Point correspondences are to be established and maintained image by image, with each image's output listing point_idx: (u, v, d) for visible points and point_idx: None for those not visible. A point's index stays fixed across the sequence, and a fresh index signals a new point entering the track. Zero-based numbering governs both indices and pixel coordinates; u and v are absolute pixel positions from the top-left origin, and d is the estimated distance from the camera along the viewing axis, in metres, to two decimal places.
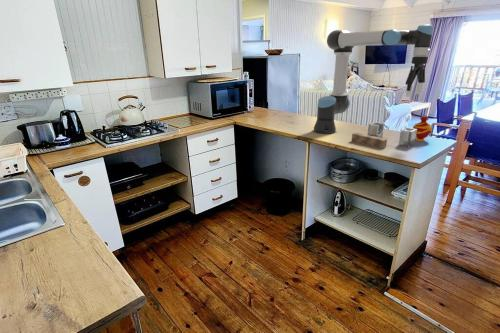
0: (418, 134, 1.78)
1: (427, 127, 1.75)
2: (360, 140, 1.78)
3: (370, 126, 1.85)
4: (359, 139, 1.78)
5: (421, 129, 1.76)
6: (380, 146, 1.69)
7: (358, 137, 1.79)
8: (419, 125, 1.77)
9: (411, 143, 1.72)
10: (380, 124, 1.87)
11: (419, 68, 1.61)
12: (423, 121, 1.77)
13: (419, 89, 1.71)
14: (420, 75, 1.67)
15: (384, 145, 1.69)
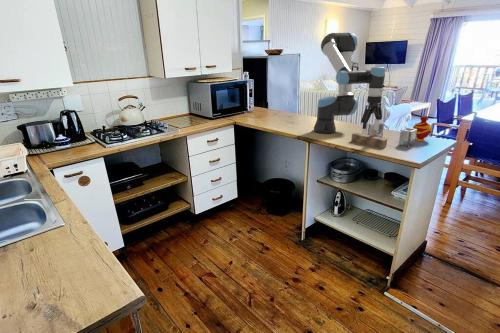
0: (418, 134, 1.78)
1: (427, 127, 1.75)
2: (360, 140, 1.78)
3: (370, 126, 1.85)
4: (359, 139, 1.78)
5: (421, 129, 1.76)
6: (380, 146, 1.69)
7: (358, 137, 1.78)
8: (419, 125, 1.77)
9: (411, 143, 1.72)
10: (380, 124, 1.87)
11: (374, 107, 1.66)
12: (423, 121, 1.77)
13: (377, 125, 1.76)
14: (376, 113, 1.72)
15: (384, 145, 1.69)
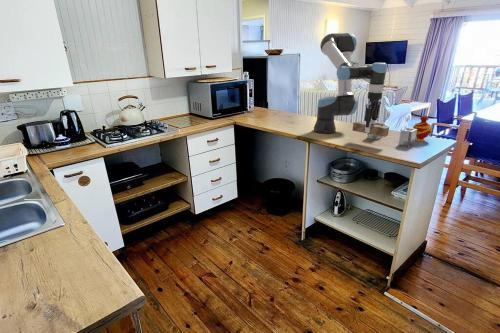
0: (418, 134, 1.78)
1: (427, 127, 1.75)
2: (362, 129, 1.76)
3: None
4: (360, 127, 1.76)
5: (421, 129, 1.76)
6: (382, 134, 1.67)
7: (359, 126, 1.76)
8: (419, 125, 1.77)
9: (411, 143, 1.72)
10: (380, 124, 1.87)
11: (374, 104, 1.66)
12: (423, 121, 1.77)
13: None
14: (374, 111, 1.71)
15: (386, 133, 1.67)
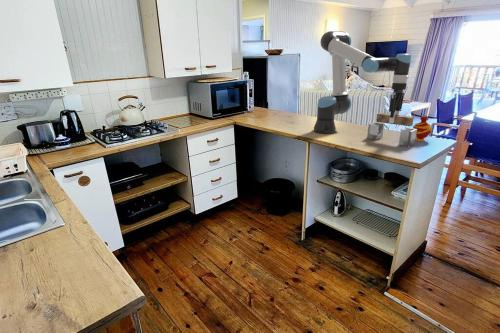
0: (418, 134, 1.78)
1: (427, 127, 1.75)
2: (386, 120, 1.78)
3: (370, 126, 1.85)
4: (384, 118, 1.79)
5: (421, 129, 1.76)
6: (407, 124, 1.70)
7: (383, 117, 1.79)
8: (419, 125, 1.77)
9: (411, 143, 1.72)
10: (380, 124, 1.87)
11: (398, 94, 1.69)
12: (423, 121, 1.77)
13: None
14: (398, 101, 1.74)
15: (411, 123, 1.70)
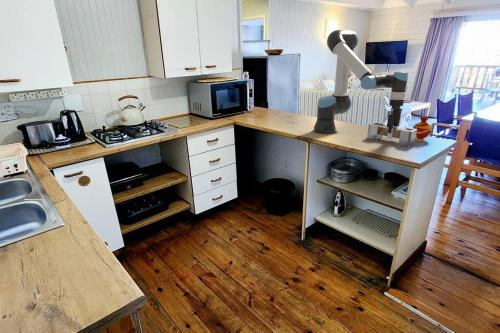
0: (418, 134, 1.78)
1: (427, 127, 1.75)
2: (384, 132, 1.81)
3: (370, 126, 1.85)
4: (382, 131, 1.82)
5: (421, 129, 1.76)
6: None
7: (381, 130, 1.82)
8: (419, 125, 1.77)
9: (411, 143, 1.72)
10: (380, 124, 1.87)
11: (396, 111, 1.73)
12: (423, 121, 1.77)
13: None
14: (396, 117, 1.77)
15: None
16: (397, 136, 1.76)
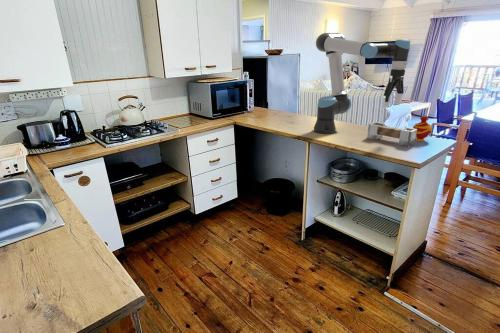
0: (418, 134, 1.78)
1: (427, 127, 1.75)
2: (384, 132, 1.81)
3: (370, 126, 1.85)
4: (382, 131, 1.82)
5: (421, 129, 1.76)
6: None
7: (381, 130, 1.82)
8: (419, 125, 1.77)
9: (411, 143, 1.72)
10: (380, 124, 1.87)
11: (397, 80, 1.68)
12: (423, 121, 1.77)
13: (398, 100, 1.78)
14: (398, 86, 1.74)
15: None
16: (397, 136, 1.76)
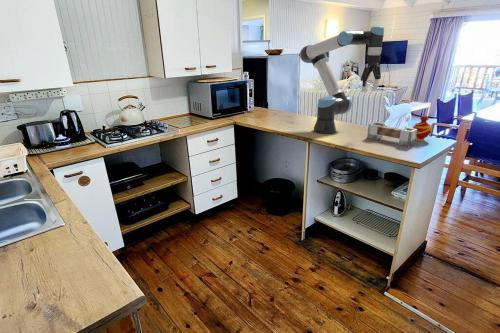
0: (418, 134, 1.78)
1: (427, 127, 1.75)
2: (384, 132, 1.81)
3: (370, 126, 1.85)
4: (382, 131, 1.82)
5: (421, 129, 1.76)
6: None
7: (381, 130, 1.82)
8: (419, 125, 1.77)
9: (411, 143, 1.72)
10: (380, 124, 1.87)
11: (373, 66, 1.77)
12: (423, 121, 1.77)
13: (375, 85, 1.87)
14: (375, 72, 1.82)
15: None
16: (397, 136, 1.76)
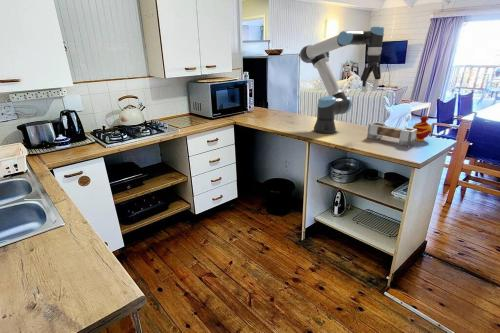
0: (418, 134, 1.78)
1: (427, 127, 1.75)
2: (384, 132, 1.81)
3: (370, 126, 1.85)
4: (382, 131, 1.82)
5: (421, 129, 1.76)
6: None
7: (381, 130, 1.82)
8: (419, 125, 1.77)
9: (411, 143, 1.72)
10: (380, 124, 1.87)
11: (373, 66, 1.77)
12: (423, 121, 1.77)
13: (375, 85, 1.87)
14: (375, 72, 1.82)
15: None
16: (397, 136, 1.76)
